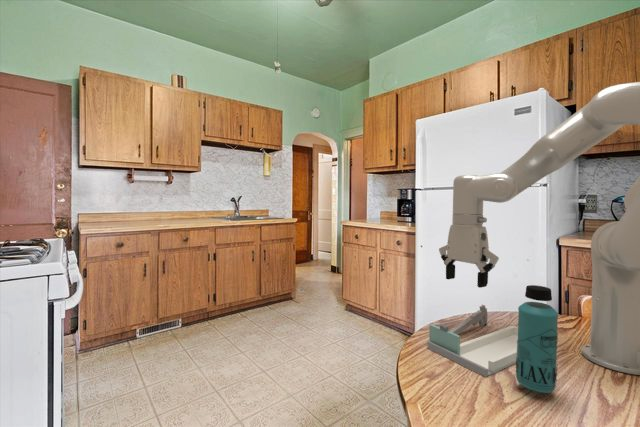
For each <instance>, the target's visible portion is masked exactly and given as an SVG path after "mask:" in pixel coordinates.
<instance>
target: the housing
mask: <svg viewBox="0 0 640 427" xmlns="http://www.w3.org/2000/svg"><path fill="white" fill-rule="evenodd" d="M517 340H518V326H515V325H510V326H507V327H505V328H502V329H501V328H500V329H498V330H496V331H493V332H489V333H487V334H484V335H481V336H478V337H476V338H473V339H469V340H467V341H464V342H462V343H461V342H460V356H459V355H457V354H455V353H453V352H451V351H449V350H447V349H445V348H443V347H440V346H438V345H436V344H434V343H432V342H430V341H429V340H428V341H427V344H426V345H427V348H426V349H428V350H431V351H432V352H434V353H436V354H438V355H440V356H442V357H443V358H446V359H448V360H450V361H452V362H455V363H456V364H459V365H461V366H463V367H464V368H467V369H468V370H471V371H472V370H473V372H475V373H476V372H477V373H476V374H478V373H479V375H480V374H481V375H480V376H482V375H483V376H482V377H484V376H485V377H484V378H488V377H490V376H493V375H494V374H496V373H499V372H500V370H501V371H503V370H505V369H507V368H509V367H511V365H512V366H513V364H514V365H516V364H515V363H516V356H517V351H516V350H517ZM504 368H505V369H504ZM502 369H503V370H502ZM498 371H499V372H498ZM487 376H488V377H487Z"/></svg>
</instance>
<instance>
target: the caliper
mask: <svg viewBox="0 0 640 427" xmlns="http://www.w3.org/2000/svg"><path fill="white" fill-rule="evenodd" d="M488 317H489V316H488V308H486V305H485V304H481V305H480V306H479V310H477V311H475V312H474V313H472V314H471V315H470V316H469V317H468V318H467V319H466V320H464V321H463V322H461V323H460V324H459V325H457V326H455V327H453V328H452V329H451V330H449V331H450V332H452V333H454V334H457V335H460V333H462V332H464V331H465V330H466V329H467V328H469V327H471V326H476V325H477V324H479V326H480V325H481V327H485V326H487V325H488ZM485 324H486V325H485Z"/></svg>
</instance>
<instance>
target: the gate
mask: <svg viewBox="0 0 640 427" xmlns="http://www.w3.org/2000/svg"><path fill="white" fill-rule="evenodd" d="M450 331H451V330H450V327H449V326H448V325H446V324H440V325H439V326H437V325H434V324H433V323H432V324H429V332H428V333H429V335H428V336H429V338H428V339H429V340H428V341H430V342H432V343H434V344H436V345H438V346H440V347H443V348H445V349H447V350H449V351H451V352H453V353H455V354H457V355H459V356H460V344H461V335H460V334H458V335H457V334H454V333H452V332H450Z"/></svg>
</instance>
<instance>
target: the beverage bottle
mask: <svg viewBox="0 0 640 427" xmlns="http://www.w3.org/2000/svg"><path fill="white" fill-rule="evenodd" d="M524 295H525V298H527V299H530V300H534V301H526V302H523V303H522V304H520V305H519V306H518V307H517V309H518V315H517V316H518V318H517V319H518V320H517V321H518V322H517V324H518V325H517V327H518V340H517V350H516V351H517V356H516V364H515V377H516V381H517V382H518V384H520V385H521V386H523V387H524V388H526V389H529V390H531V391H534V392H537V393H543V394H544V393H553V392H554V391H555V389H556V387H557V382H558V378H557V376H558V366H557V359H558V358H557V353H558V341H559V339H558V335H559V333H558V323H559V322H558V321H559V320H558V317H559V313H558V312H557V310H556V309H555V308H554V307H552V305H550V304H547V303H544V302H550V301H552V300H553V295H552V289H551V288H549V287H546V286H542V285H533V284H531V285H530V284H529V285H527V286H526V287H525V294H524ZM538 301H539V302H538ZM540 301H541V302H540Z"/></svg>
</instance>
